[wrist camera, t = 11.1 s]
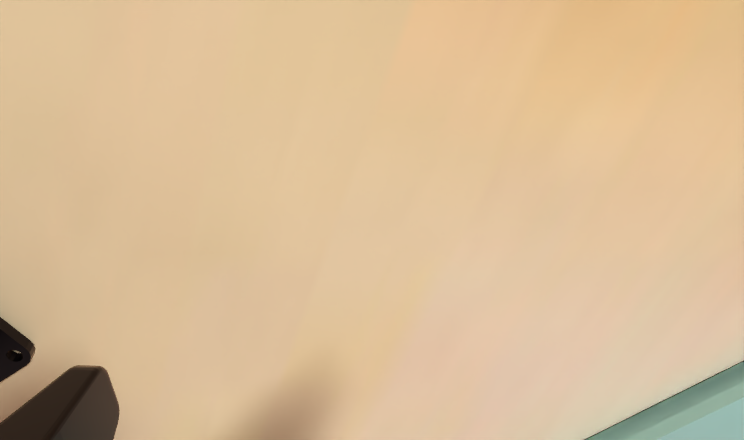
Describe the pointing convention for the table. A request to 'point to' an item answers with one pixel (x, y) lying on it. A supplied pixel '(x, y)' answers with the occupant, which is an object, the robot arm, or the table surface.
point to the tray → (690, 413)
